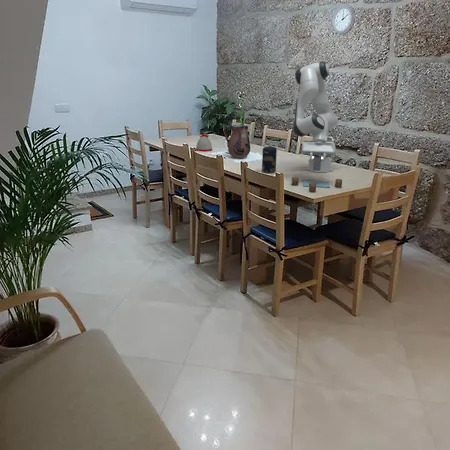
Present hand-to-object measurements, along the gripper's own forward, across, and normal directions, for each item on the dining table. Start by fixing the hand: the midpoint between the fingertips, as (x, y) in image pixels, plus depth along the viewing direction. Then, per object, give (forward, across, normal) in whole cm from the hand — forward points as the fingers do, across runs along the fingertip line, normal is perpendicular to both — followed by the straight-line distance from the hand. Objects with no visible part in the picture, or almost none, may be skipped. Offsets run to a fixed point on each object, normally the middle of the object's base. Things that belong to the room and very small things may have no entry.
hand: (317, 160), depth 258 cm
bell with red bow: (-53, -101, +75) cm, 136 cm away
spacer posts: (+17, +1, +5) cm, 18 cm away
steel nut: (+4, 0, +5) cm, 6 cm away
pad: (+10, 0, +11) cm, 16 cm away
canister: (-7, -33, +29) cm, 45 cm away
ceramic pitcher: (-37, -66, +58) cm, 95 cm away
